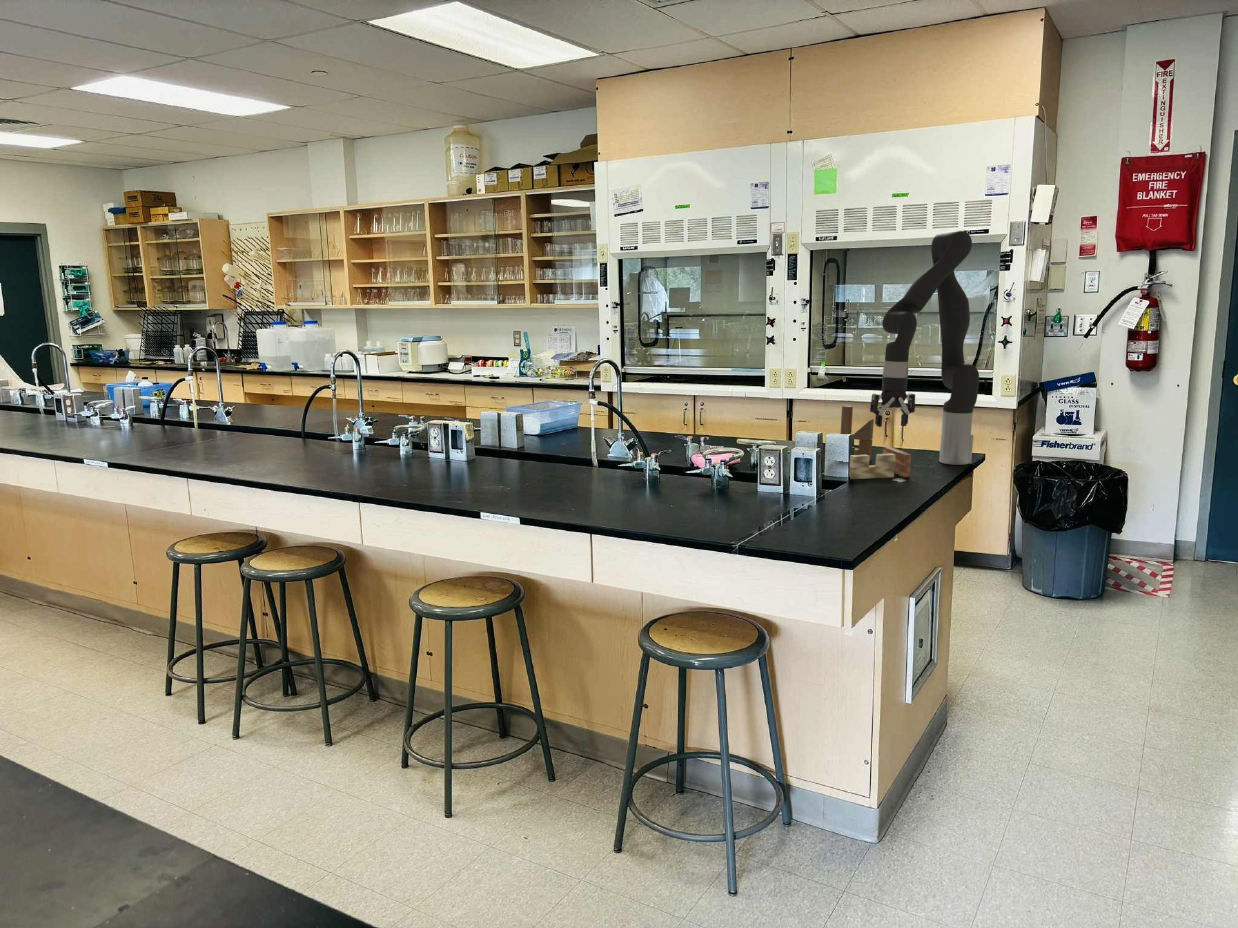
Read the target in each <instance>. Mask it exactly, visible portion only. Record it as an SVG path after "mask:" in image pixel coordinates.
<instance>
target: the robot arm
mask: <svg viewBox="0 0 1238 928" xmlns="http://www.w3.org/2000/svg"><path fill="white" fill-rule="evenodd" d="M972 247H973V239H972V237H971V235H970V234H969V233H968V232H967V231H965V230H953V231H944V232H939V233H937V234H935V236H934V237H933V239H932V241H931V245H930V251H931V252H930V253H931V259H932V264H933V265H932V266H930V268H928V269H927V270H926V271H925V272H923V273H922V274H921V275H920V276H919V277H917V278H916V280H915V281H914V282H913V283H912V284H911V285H910V287H909V288H908V289H907V291H906V292H905V294H904V295H903V297H902V298H900V300H898V301H897V302H896V303H895V304H894V305H893V306H891V307H890V308H889V309H888V310H887V311H886V313H885V314H884V316H883V318H882V322H881V323H882V324H881V325H882V329H883V330H884V331H885V332H886V333H889V334H893V335H896V337H895V340H894V341H890V342H888V343H887V344H886V346H885V352H884V353H885V354H884V364H883V368H882V369H883V372H882V381H881V382H882V383H881V394H878V393H872V395H871V399H870V406H869V407H870V409H869V411H870V413H873V414H874V415H875V417H874V418H875V420H874V422H875V425H876V427H877V428H878V427H879V428H881V427H883V426H882V424H883V413H884V412H885V411H886V410H888V408H890V409H891V408H892V409H894V408H896V409H897V408H898V409H899V410H900V411H901V418H900V426H902V427H906V426H907V425H908V424H909V415H910V414H912V413H915V411H916V394H915V393H912V392H911V393H910V392H909V393H907V392H906V391H907V390H908V389H907V388H908V379H909V377H908V375H909V357H910V353H909V352H910V347H911V345H912V342H913V339H914V336H915V334H916V331H917V326H918V322H917V318H916V315H915V314H917V313H918V314H919V313H920V312H921V311H923V310H924V308H925V306H926V305H927V304H928V302H929V301H930V299H931V298H932V296H933V295H934V293H935V292H936V291H937V299H938V301H937V302H938V318H939V325H940V339H941V340H940V342H941V368H940V369H941V380H942V384H943V385H944V386H945V387H946V388H947V389H949V390H951V392H950V398H949V399H948V400H946V401H945V402H944V403H943V409H942V420H941V421H942V422H941V433H940V446H939V456H938V457H939V460H938V461H939V462H940V463H941V464H946V465H955V466H957V465H959V466H961V465H962V466H963V465H968V464H972V458H973V457H972V456H973V444H974V434H972V426H973V416H974V415H973V414H974V413H973V412H974V408H975V406H976V404H977V399H978V393H979V386H980V372H979V370H978V368H977V367H976V366H975V365H973V364H971V363H966V362H965V355H964V343H965V339H966V337H967V334H968V330H969V328H970V323H971V322H970V321H971V313H970V304H969V303H970V302H969V298H968V297H967V294H966V293H965V291H964V289H963V288H962V286H961V284H960V282H959V281H958V279H957V277H956V274H955V270H956V268H958V266H960V264H962V262H963V261H964V260H965V259H966V258H967V257H968V256H969V254H970V253H971V251H972ZM880 400H881V402H880V403H879V401H880ZM906 400H907V404H906V403H905V401H906Z"/></svg>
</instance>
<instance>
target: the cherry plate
mask: <svg viewBox="0 0 1238 928" xmlns="http://www.w3.org/2000/svg"><path fill="white" fill-rule="evenodd" d="M882 454H894V455H896V456H895V470H894V475H897V474H898V476H899V477H902V476H903V477H902V478H908V477H911V461H912V454H910V453H908V452H905V451H902V450H900V449H898V448H894V447H892V446H883V449H882Z"/></svg>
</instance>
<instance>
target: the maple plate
mask: <svg viewBox="0 0 1238 928" xmlns="http://www.w3.org/2000/svg"><path fill="white" fill-rule="evenodd" d="M895 456H896V455H894V454H883V453H877V454H876V455H875V464H874V465H870V461H869V458H870V456H868V455H850V459H849V471H848V472H849V473H848V477H849V476H850V478H849V479H851V480H859V479H862V480H863V479H880V478H881V479H883V478H884V479H885V478H895V471H894V470H895Z"/></svg>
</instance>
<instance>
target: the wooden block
mask: <svg viewBox="0 0 1238 928" xmlns="http://www.w3.org/2000/svg"><path fill="white" fill-rule="evenodd" d="M853 410H854V407H853V406H852V405H847V404H845V405H842V407H841V416H840V417H841V418H840V434H851V435H854V439H853V440H857V441H858V448H857V447H854V448H855V449H854V455H868V456H870V458H869V462H870V461H872V451H873V438H874V437H873V435H874V422H875V420H874V418H871V419H870V420H868V421H867V422H866V423H865V424H863V426H861V427H860V428H859V429H858V430H857V431H856V432H854V433H853V431H852V430H853V412H854V411H853ZM852 433H853V434H852Z"/></svg>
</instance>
